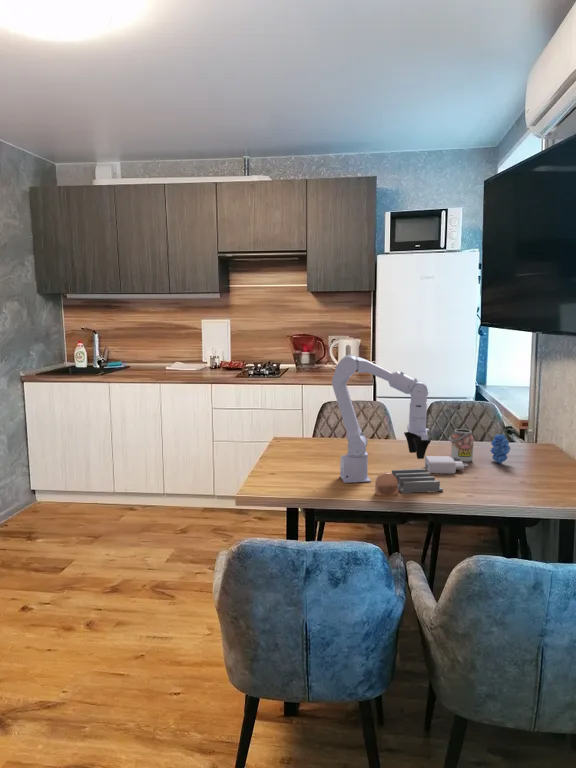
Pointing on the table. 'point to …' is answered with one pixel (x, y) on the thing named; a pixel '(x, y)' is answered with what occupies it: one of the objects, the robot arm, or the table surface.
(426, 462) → the charger
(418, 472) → the dish rack
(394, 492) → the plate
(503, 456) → the grapes
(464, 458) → the beverage can
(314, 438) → the table surface
